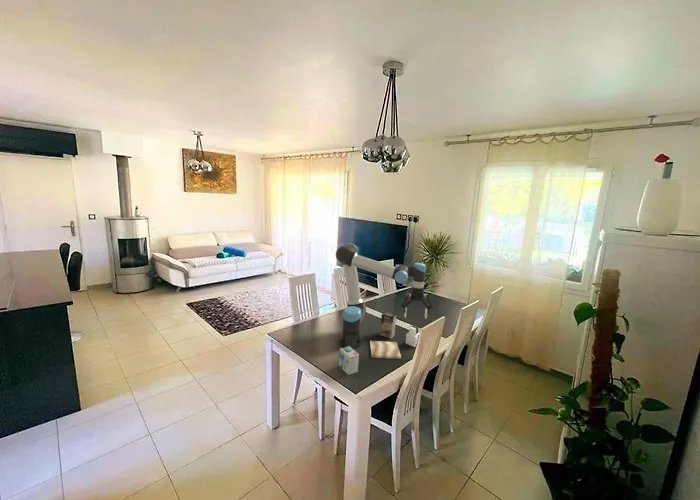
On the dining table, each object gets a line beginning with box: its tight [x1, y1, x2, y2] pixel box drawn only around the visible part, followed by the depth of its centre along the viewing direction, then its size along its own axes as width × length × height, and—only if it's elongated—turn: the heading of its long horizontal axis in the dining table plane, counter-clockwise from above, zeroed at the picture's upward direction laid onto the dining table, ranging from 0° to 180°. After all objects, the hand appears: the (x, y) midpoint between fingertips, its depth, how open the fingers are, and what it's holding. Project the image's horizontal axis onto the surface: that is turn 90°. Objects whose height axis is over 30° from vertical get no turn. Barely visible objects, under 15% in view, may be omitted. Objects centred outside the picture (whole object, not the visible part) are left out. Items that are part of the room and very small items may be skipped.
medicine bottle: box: [405, 325, 420, 348], centre depth 200 cm, size 7×7×12 cm
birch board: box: [369, 340, 402, 360], centre depth 190 cm, size 18×18×2 cm
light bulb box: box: [338, 346, 360, 376], centre depth 168 cm, size 11×7×11 cm, turn 32°
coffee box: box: [379, 311, 397, 340], centre depth 209 cm, size 9×6×16 cm
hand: (415, 317), depth 198 cm, fingers open, 13 cm apart
